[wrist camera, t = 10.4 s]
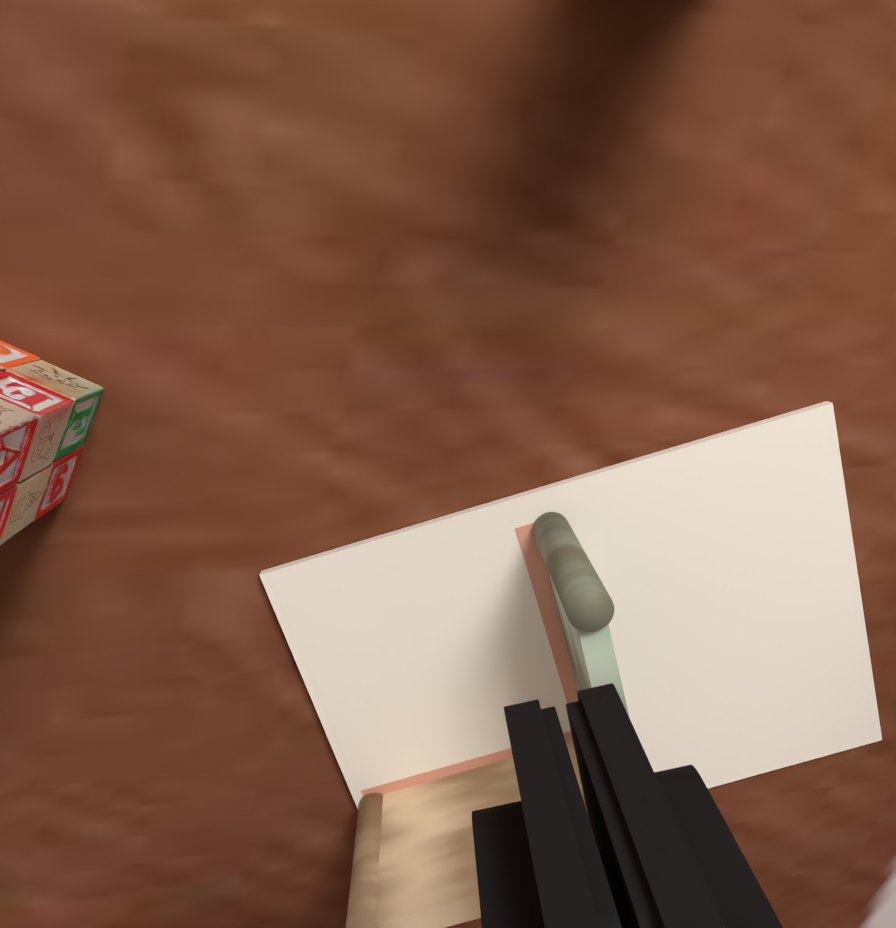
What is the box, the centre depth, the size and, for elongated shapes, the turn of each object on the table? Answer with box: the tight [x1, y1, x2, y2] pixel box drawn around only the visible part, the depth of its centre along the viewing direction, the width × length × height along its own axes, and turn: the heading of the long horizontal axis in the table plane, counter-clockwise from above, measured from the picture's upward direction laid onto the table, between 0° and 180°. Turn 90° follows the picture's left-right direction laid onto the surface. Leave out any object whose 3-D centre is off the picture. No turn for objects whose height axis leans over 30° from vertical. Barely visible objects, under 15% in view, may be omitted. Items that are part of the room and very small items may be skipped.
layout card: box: [259, 401, 882, 809], centre depth 38 cm, size 29×20×1 cm
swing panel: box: [533, 512, 629, 716], centre depth 32 cm, size 12×2×8 cm, turn 15°
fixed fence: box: [346, 741, 588, 928], centre depth 35 cm, size 15×2×9 cm, turn 107°
